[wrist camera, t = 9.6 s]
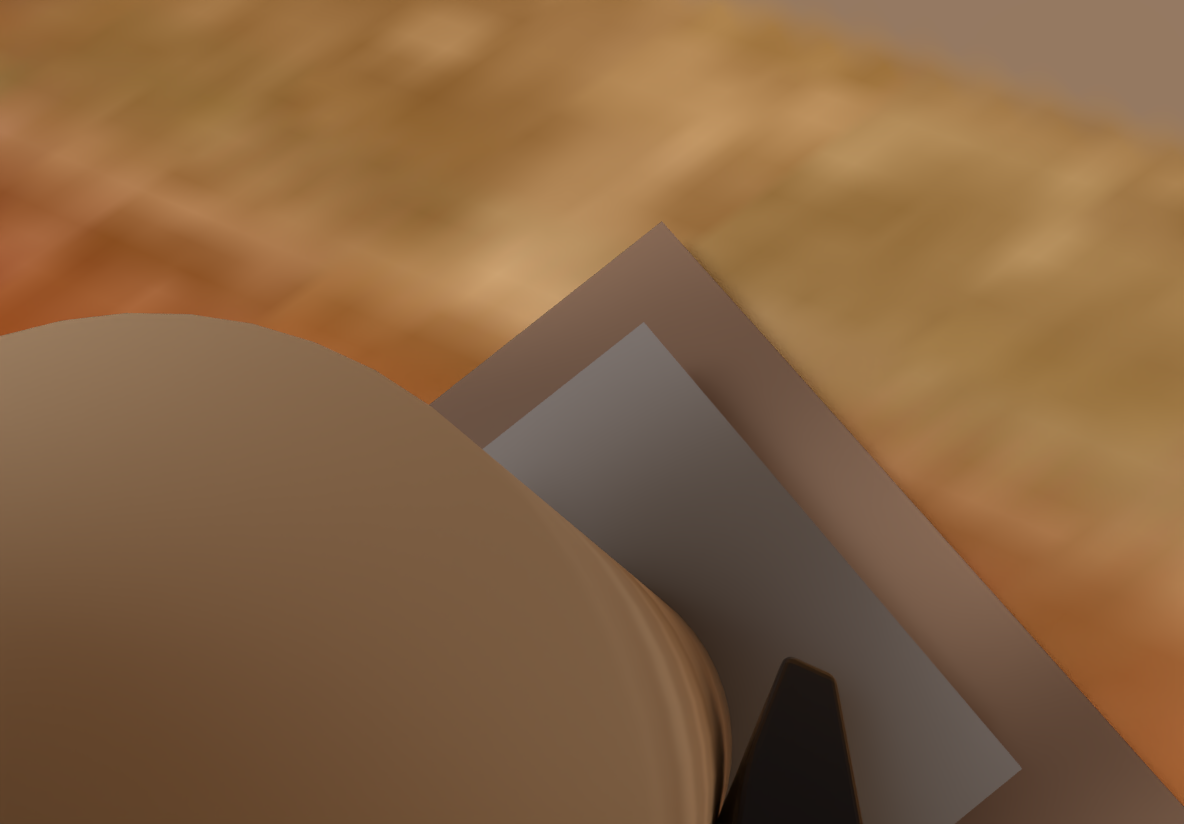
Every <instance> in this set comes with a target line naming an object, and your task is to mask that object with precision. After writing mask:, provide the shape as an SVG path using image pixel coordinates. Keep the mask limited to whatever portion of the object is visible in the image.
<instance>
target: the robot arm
mask: <svg viewBox="0 0 1184 824" xmlns="http://www.w3.org/2000/svg"><path fill="white" fill-rule="evenodd" d="M716 824H863V820H862V814H861V809H860V803H859V798H858V793H857V787H856V782H855V777H854V771H853V766H852V760H851V755H850V750H849V744H848V739H847V733H846V728H845V723H844V717H843V712H842V706H841V701H840V696H839V690H838V686H837V682H836V680H835V678H834V677H833V675H832V674H830V673H829V672H826V671H824V670H822V669H820V668H817V667H815V666H813V665H811V664H809V663H806V662H804V661H802V660H800V659H797V658H795V657H787V658H785V659H784V660H783V661H782V663H781V665H780V668H779V670H778V673H777V675H776V677H775V680H774V682H773V685H772V687H771V689H770V692H769V694H768V697H767V699H766V701H765V704H764V706H763V709H762V711H761V713H760V716H759V718H758V720H757V723H756V725H755V728H754V730H753V733H752V735H751V737H750V740H749V742H748V745H747V747H746V750H745V752H744V755H743V757H742V760H741V762H740V765H739V767H738V770H737V772H736V775H735V777H734V779H733V782H732V784H731V787H730V789H729V792H728V794H727V797H726V799H725V802H724V804H723V807H722V809H721V812H720V814H719V817H718V819H717V822H716Z"/></svg>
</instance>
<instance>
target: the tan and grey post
mask: <svg viewBox="0 0 1184 824" xmlns="http://www.w3.org/2000/svg"><path fill="white" fill-rule="evenodd" d="M787 657H795V658H797V659H800V660H802V661H804V662H806V663H809V664H811V665H813V666H815V667H817V668H820V669H822V670H824V671H826V672H829V673H830V674H832V675H833V677H834V678H835V680H836V682H837V686H838V690H839V696H840V701H841V706H842V712H843V717H844V723H845V728H846V733H847V739H848V744H849V750H850V755H851V760H852V766H853V771H854V777H855V782H856V787H857V793H858V798H859V803H860V809H861V814H862V820H863V824H955V823H956V822H957V821H959V820H960V819H961V818H962V817H964V816H965V815H966V814H967V813H968V812H970V811H971V810H972V809H973V808H975V807H976V806H977V805H978V804H980V803H981V802H982V801H983V800H984V799H986V798H987V797H988V796H989V795H991V794H992V793H993V792H994V791H995V790H997V789H998V788H999V787H1000V786H1002V785H1003V784H1004V783H1005V782H1006V781H1008V780H1009V779H1010V778H1011V777H1013V776H1014V775H1015V774H1016V773H1017V772H1019V771H1020V770H1021V769H1022V768H1021V767H1020V765H1019V764H1018V763H1017V762H1016V761H1015V759H1014V758H1013V757H1012V756H1011V755H1010V754H1009V752H1008V751H1007V750H1006V749H1005V748H1004V746H1003V745H1002V744H1001V743H1000V742H999V741H998V739H997V738H996V737H995V736H994V735H993V733H992V732H991V731H990V730H989V729H988V728H987V726H986V725H985V724H984V723H983V722H982V721H981V719H980V718H979V717H978V716H977V715H976V713H975V712H974V711H973V710H972V709H971V708H970V706H969V705H968V704H967V703H966V702H965V700H964V699H963V698H962V697H961V696H960V695H959V693H958V692H957V691H956V690H955V689H954V687H953V686H952V685H951V684H950V683H949V682H948V680H947V679H946V678H945V677H944V676H943V674H942V673H941V672H940V671H939V670H938V669H937V667H936V666H935V665H934V664H933V663H932V662H931V660H930V659H929V658H928V657H927V656H926V654H925V653H924V652H923V651H922V650H921V649H920V647H919V646H918V645H917V644H916V643H915V641H914V640H913V639H912V638H911V637H910V636H909V634H908V633H907V632H906V631H905V630H904V628H903V627H902V626H901V625H900V624H899V623H898V621H897V620H896V619H895V618H894V617H893V616H892V614H891V613H890V612H889V611H888V610H887V608H886V607H885V606H884V605H883V604H882V603H881V601H880V600H879V599H878V598H877V597H876V595H875V594H874V593H873V592H872V591H871V590H870V588H869V587H868V586H867V585H866V584H865V582H864V581H863V580H862V579H861V578H860V577H859V575H858V574H857V573H856V572H855V571H854V569H853V568H852V567H851V566H850V565H849V564H848V562H847V561H846V560H845V559H844V558H843V557H842V555H841V554H840V553H839V552H838V551H837V549H836V548H835V547H834V546H833V545H832V544H831V542H830V541H829V540H828V539H827V538H826V536H825V535H824V534H823V533H822V532H821V531H820V529H819V528H818V527H817V526H816V525H815V523H814V522H813V521H812V520H811V519H810V518H809V516H808V515H807V514H806V513H805V512H804V511H803V509H802V508H801V507H800V506H799V505H798V503H797V502H796V501H795V500H794V499H793V498H792V496H791V495H790V494H789V493H788V492H787V490H786V489H785V488H784V487H783V486H782V485H781V483H780V482H779V481H778V480H777V479H776V477H775V476H774V475H773V474H772V473H771V472H770V470H769V469H768V468H767V467H766V466H765V464H764V463H763V462H762V461H761V460H760V459H759V457H758V456H757V455H756V454H755V453H754V452H753V450H752V449H751V448H750V447H749V446H748V444H747V443H746V442H745V441H744V440H743V439H742V437H741V436H740V435H739V434H738V433H737V431H736V430H735V429H734V428H733V427H732V426H731V424H730V423H729V422H728V421H727V420H726V418H725V417H724V416H723V415H722V414H721V413H720V411H719V410H718V409H717V408H716V407H715V405H714V404H713V403H712V402H711V401H710V400H709V398H708V397H707V396H706V395H705V394H704V393H703V391H702V390H701V389H700V388H699V387H698V385H697V384H696V383H695V382H694V381H693V380H692V378H691V377H690V376H689V375H688V374H687V372H686V371H685V370H684V369H683V368H682V367H681V365H680V364H679V363H678V362H677V361H676V359H675V358H674V357H673V356H672V355H671V354H670V352H669V351H668V350H667V349H666V348H665V347H664V345H663V344H662V343H661V342H660V341H659V339H658V338H657V337H656V336H655V335H654V334H653V332H652V331H651V330H650V329H649V328H648V326H647V325H646V324H645V323H644V322H643V323H642V324H641V325H639V326H638V327H637V328H635V329H634V330H633V331H632V332H630V333H629V334H628V335H627V336H625V337H624V338H623V339H622V340H620V341H619V342H618V343H616V344H615V345H614V346H613V347H611V348H610V349H609V350H608V351H606V352H605V353H604V354H603V355H601V356H600V357H599V358H597V359H596V360H595V361H594V362H592V363H591V364H590V365H589V366H587V367H586V368H585V369H583V370H582V371H581V372H580V373H578V374H577V375H576V376H575V377H573V378H572V379H571V380H570V381H568V382H567V383H566V384H564V385H563V386H562V387H561V388H559V389H558V390H557V391H556V392H554V393H553V394H552V395H551V396H549V397H548V398H547V399H545V400H544V401H543V402H542V403H540V404H539V405H538V406H537V407H535V408H534V409H533V410H531V411H530V412H529V413H528V414H526V415H525V416H524V417H523V418H521V419H520V420H519V421H518V422H516V423H515V424H514V425H512V426H511V427H510V428H509V429H507V430H506V431H505V432H504V433H502V434H501V435H500V436H499V437H497V438H496V439H495V440H493V441H492V442H491V443H490V444H488V445H487V446H486V447H485V448H483V449H481V448H480V447H479V446H478V445H477V444H475V443H474V442H473V441H472V440H471V439H470V438H468V437H467V436H466V435H465V434H464V433H462V432H461V431H460V430H459V429H458V428H456V427H455V426H454V425H453V424H452V423H450V422H449V421H448V420H447V419H446V418H444V417H443V416H442V415H441V414H440V413H439V412H437V411H436V410H435V409H434V408H433V407H431V406H430V405H428V404H427V403H425V402H423V401H422V400H420V399H419V398H417V397H416V396H414V395H413V394H411V393H410V392H408V391H406V390H405V389H403V388H402V387H400V386H399V385H397V384H396V383H394V382H392V381H391V380H389V379H388V378H386V377H385V376H383V375H382V374H380V373H379V372H377V371H375V370H373V369H371V368H369V367H367V366H365V365H363V364H360V363H358V362H356V361H354V360H352V359H350V358H347V357H345V356H343V355H341V354H339V353H337V352H334V351H332V350H330V349H328V348H326V347H324V346H321V345H319V344H317V343H315V342H312V341H308V340H305V339H302V338H298V337H295V336H292V335H288V334H285V333H282V332H278V331H275V330H272V329H268V328H265V327H262V326H258V325H255V324H250V323H244V322H237V321H231V320H224V319H218V318H211V317H205V316H198V315H191V314H144V313H123V314H115V315H106V316H98V317H89V318H81V319H72V320H64V321H59V322H55V323H51V324H47V325H43V326H39V327H35V328H31V329H27V330H23V331H19V332H15V333H11V334H7V335H3V336H0V824H716V822H717V819H718V817H719V814H720V812H721V809H722V807H723V804H724V802H725V799H726V797H727V794H728V792H729V789H730V787H731V784H732V782H733V779H734V777H735V775H736V772H737V770H738V767H739V765H740V762H741V760H742V757H743V755H744V752H745V750H746V747H747V745H748V742H749V740H750V737H751V735H752V733H753V730H754V728H755V725H756V723H757V720H758V718H759V716H760V713H761V711H762V709H763V706H764V704H765V701H766V699H767V697H768V694H769V692H770V689H771V687H772V685H773V682H774V680H775V677H776V675H777V673H778V670H779V668H780V665H781V663H782V661H783V660H784V659H785V658H787Z"/></svg>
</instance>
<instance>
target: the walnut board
mask: <svg viewBox="0 0 1184 824" xmlns="http://www.w3.org/2000/svg"><path fill="white" fill-rule="evenodd" d="M643 322H644V323H645V324H646V325H647V326H648V328H649V329H650V330H651V331H652V332H653V334H654V335H655V336H656V337H657V338H658V339H659V341H660V342H661V343H662V344H663V345H664V347H665V348H666V349H667V350H668V351H669V352H670V354H671V355H672V356H673V357H674V358H675V359H676V361H677V362H678V363H679V364H680V365H681V367H682V368H683V369H684V370H685V371H686V372H687V374H688V375H689V376H690V377H691V378H692V380H693V381H694V382H695V383H696V384H697V385H698V387H699V388H700V389H701V390H702V391H703V393H704V394H705V395H706V396H707V397H708V398H709V400H710V401H711V402H712V403H713V404H714V405H715V407H716V408H717V409H718V410H719V411H720V413H721V414H722V415H723V416H724V417H725V418H726V420H727V421H728V422H729V423H730V424H731V426H732V427H733V428H734V429H735V430H736V431H737V433H738V434H739V435H740V436H741V437H742V439H743V440H744V441H745V442H746V443H747V444H748V446H749V447H750V448H751V449H752V450H753V452H754V453H755V454H756V455H757V456H758V457H759V459H760V460H761V461H762V462H763V463H764V464H765V466H766V467H767V468H768V469H769V470H770V472H771V473H772V474H773V475H774V476H775V477H776V479H777V480H778V481H779V482H780V483H781V485H782V486H783V487H784V488H785V489H786V490H787V492H788V493H789V494H790V495H791V496H792V498H793V499H794V500H795V501H796V502H797V503H798V505H799V506H800V507H801V508H802V509H803V511H804V512H805V513H806V514H807V515H808V516H809V518H810V519H811V520H812V521H813V522H814V523H815V525H816V526H817V527H818V528H819V529H820V531H821V532H822V533H823V534H824V535H825V536H826V538H827V539H828V540H829V541H830V542H831V544H832V545H833V546H834V547H835V548H836V549H837V551H838V552H839V553H840V554H841V555H842V557H843V558H844V559H845V560H846V561H847V562H848V564H849V565H850V566H851V567H852V568H853V569H854V571H855V572H856V573H857V574H858V575H859V577H860V578H861V579H862V580H863V581H864V582H865V584H866V585H867V586H868V587H869V588H870V590H871V591H872V592H873V593H874V594H875V595H876V597H877V598H878V599H879V600H880V601H881V603H882V604H883V605H884V606H885V607H886V608H887V610H888V611H889V612H890V613H891V614H892V616H893V617H894V618H895V619H896V620H897V621H898V623H899V624H900V625H901V626H902V627H903V628H904V630H905V631H906V632H907V633H908V634H909V636H910V637H911V638H912V639H913V640H914V641H915V643H916V644H917V645H918V646H919V647H920V649H921V650H922V651H923V652H924V653H925V654H926V656H927V657H928V658H929V659H930V660H931V662H932V663H933V664H934V665H935V666H936V667H937V669H938V670H939V671H940V672H941V673H942V674H943V676H944V677H945V678H946V679H947V680H948V682H949V683H950V684H951V685H952V686H953V687H954V689H955V690H956V691H957V692H958V693H959V695H960V696H961V697H962V698H963V699H964V700H965V702H966V703H967V704H968V705H969V706H970V708H971V709H972V710H973V711H974V712H975V713H976V715H977V716H978V717H979V718H980V719H981V721H982V722H983V723H984V724H985V725H986V726H987V728H988V729H989V730H990V731H991V732H992V733H993V735H994V736H995V737H996V738H997V739H998V741H999V742H1000V743H1001V744H1002V745H1003V746H1004V748H1005V749H1006V750H1007V751H1008V752H1009V754H1010V755H1011V756H1012V757H1013V758H1014V759H1015V761H1016V762H1017V763H1018V764H1019V765H1020V767H1021V768H1022V769H1021V770H1020V771H1019V772H1017V773H1016V774H1015V775H1014V776H1013V777H1011V778H1010V779H1009V780H1008V781H1006V782H1005V783H1004V784H1003V785H1002V786H1000V787H999V788H998V789H997V790H995V791H994V792H993V793H992V794H991V795H989V796H988V797H987V798H986V799H984V800H983V801H982V802H981V803H980V804H978V805H977V806H976V807H975V808H973V809H972V810H971V811H970V812H968V813H967V814H966V815H965V816H964V817H962V818H961V819H960V820H959V821H957V822H956V823H955V824H1184V807H1183V806H1182V804H1181V803H1180V802H1179V801H1178V800H1177V799H1176V798H1175V797H1174V795H1173V794H1172V793H1171V792H1170V791H1169V790H1168V789H1167V788H1166V787H1165V785H1164V784H1163V783H1162V782H1161V781H1160V780H1159V779H1158V778H1157V776H1156V775H1155V774H1154V773H1153V772H1152V771H1151V770H1150V769H1149V767H1148V766H1147V765H1146V764H1145V763H1144V762H1143V761H1142V760H1141V758H1140V757H1139V756H1138V755H1137V754H1136V753H1135V752H1134V751H1133V749H1132V748H1131V747H1130V746H1129V745H1128V744H1127V743H1126V742H1125V741H1124V739H1123V738H1122V737H1121V736H1120V735H1119V734H1118V733H1117V732H1116V730H1115V729H1114V728H1113V727H1112V726H1111V725H1110V724H1109V723H1108V721H1107V720H1106V719H1105V718H1104V717H1103V716H1102V715H1101V714H1100V712H1099V711H1098V710H1097V709H1096V708H1095V707H1094V706H1093V705H1092V703H1091V702H1090V701H1089V700H1088V699H1087V698H1086V697H1085V696H1084V695H1083V693H1082V692H1081V691H1080V690H1079V689H1078V688H1077V687H1076V686H1075V684H1074V683H1073V682H1072V681H1071V680H1070V679H1069V678H1068V677H1067V675H1066V674H1065V673H1064V672H1063V671H1062V670H1061V669H1060V668H1059V666H1058V665H1057V664H1056V663H1055V662H1054V661H1053V660H1052V659H1051V657H1050V656H1049V655H1048V654H1047V653H1046V652H1045V651H1044V650H1043V649H1042V647H1041V646H1040V645H1039V644H1038V643H1037V642H1036V641H1035V640H1034V638H1033V637H1032V636H1031V635H1030V634H1029V633H1028V632H1027V631H1026V629H1025V628H1024V627H1023V626H1022V625H1021V624H1020V623H1019V622H1018V620H1017V619H1016V618H1015V617H1014V616H1013V615H1012V614H1011V613H1010V611H1009V610H1008V609H1007V608H1006V607H1005V606H1004V605H1003V604H1002V603H1001V601H1000V600H999V599H998V598H997V597H996V596H995V595H994V594H993V592H992V591H991V590H990V589H989V588H988V587H987V586H986V585H985V583H984V582H983V581H982V580H981V579H980V578H979V577H978V576H977V574H976V573H975V572H974V571H973V570H972V569H971V568H970V567H969V566H968V564H967V563H966V562H965V561H964V560H963V559H962V558H961V557H960V555H959V554H958V553H957V552H956V551H955V550H954V549H953V548H952V546H951V545H950V544H949V543H948V542H947V541H946V540H945V539H944V537H943V536H942V535H941V534H940V533H939V532H938V531H937V530H936V528H935V527H934V526H933V525H932V524H931V523H930V522H929V521H928V520H927V518H926V517H925V516H924V515H923V514H922V513H921V512H920V511H919V509H918V508H917V507H916V506H915V505H914V504H913V503H912V502H911V500H910V499H909V498H908V497H907V496H906V495H905V494H904V493H903V491H902V490H901V489H900V488H899V487H898V486H897V485H896V484H895V482H894V481H893V480H892V479H891V478H890V477H889V476H888V475H887V474H886V472H885V471H884V470H883V469H882V468H881V467H880V466H879V465H878V463H877V462H876V461H875V460H874V459H873V458H872V457H871V456H870V454H869V453H868V452H867V451H866V450H865V449H864V448H863V447H862V445H861V444H860V443H859V442H858V441H857V440H856V439H855V438H854V436H853V435H852V434H851V433H850V432H849V431H848V430H847V429H846V428H845V426H844V425H843V424H842V423H841V422H840V421H839V420H838V419H837V417H836V416H835V415H834V414H833V413H832V412H831V411H830V410H829V408H828V407H827V406H826V405H825V404H824V403H823V402H822V401H821V399H820V398H819V397H818V396H817V395H816V394H815V393H814V392H813V390H812V389H811V388H810V387H809V386H808V385H807V384H806V383H805V382H804V380H803V379H802V378H801V377H800V376H799V375H798V374H797V373H796V371H795V370H794V369H793V368H792V367H791V366H790V365H789V364H788V362H787V361H786V360H785V359H784V358H783V357H782V356H781V355H780V353H779V352H778V351H777V350H776V349H775V348H774V347H773V346H772V344H771V343H770V342H769V341H768V340H767V339H766V338H765V337H764V336H763V334H762V333H761V332H760V331H759V330H758V329H757V328H756V327H755V325H754V324H753V323H752V322H751V321H750V320H749V319H748V318H747V316H746V315H745V314H744V313H743V312H742V311H741V310H740V309H739V307H738V306H737V305H736V304H735V303H734V302H733V301H732V300H731V298H730V297H729V296H728V295H727V294H726V293H725V292H724V291H723V290H722V288H721V287H720V286H719V285H718V284H717V283H716V282H715V281H714V279H713V278H712V277H711V276H710V275H709V274H708V273H707V272H706V270H705V269H704V268H703V267H702V266H701V265H700V264H699V263H698V261H697V260H696V259H695V258H694V257H693V256H692V255H691V254H690V252H689V251H688V250H687V249H686V248H685V247H684V246H683V245H682V244H681V242H680V241H679V240H678V239H677V238H676V237H675V236H674V235H673V233H672V232H671V231H670V230H669V229H668V228H667V227H666V226H665V224H664V223H663V222H660V223H659V224H658V225H657V226H655V227H654V228H653V229H651V230H650V231H649V232H648V233H646V234H645V235H644V236H643V237H641V238H640V239H639V240H638V241H636V242H635V243H634V244H632V245H631V246H630V247H629V248H627V249H626V250H625V251H624V252H622V253H621V254H620V255H619V256H617V257H616V258H615V259H613V260H612V261H611V262H610V263H608V264H607V265H606V266H605V267H603V268H602V269H601V270H600V271H598V272H597V273H596V274H594V275H593V276H592V277H591V278H589V279H588V280H587V281H586V282H584V283H583V284H582V285H581V286H579V287H578V288H577V289H575V290H574V291H573V292H572V293H570V294H569V295H568V296H567V297H565V298H564V299H563V300H561V301H560V302H559V303H558V304H556V305H555V306H554V307H553V308H551V309H550V310H549V311H548V312H546V313H545V314H544V315H542V316H541V317H540V318H539V319H537V320H536V321H535V322H534V323H532V324H531V325H530V326H529V327H527V328H526V329H525V330H523V331H522V332H521V333H520V334H518V335H517V336H516V337H515V338H513V339H512V340H511V341H510V342H508V343H507V344H506V345H504V346H503V347H502V348H501V349H499V350H498V351H497V352H496V353H494V354H493V355H492V356H491V357H489V358H488V359H487V360H485V361H484V362H483V363H482V364H480V365H479V366H478V367H477V368H475V369H474V370H473V371H472V372H470V373H469V374H468V375H466V376H465V377H464V378H463V379H461V380H460V381H459V382H458V383H456V384H455V385H454V386H452V387H451V388H450V389H449V390H447V391H446V392H445V393H444V394H442V395H441V396H440V397H439V398H437V399H436V400H435V401H433V402H432V403H431V404H430V406H431V407H433V408H434V409H435V410H436V411H437V412H439V413H440V414H441V415H442V416H443V417H444V418H446V419H447V420H448V421H449V422H450V423H452V424H453V425H454V426H455V427H456V428H458V429H459V430H460V431H461V432H462V433H464V434H465V435H466V436H467V437H468V438H470V439H471V440H472V441H473V442H474V443H475V444H477V445H478V446H479V447H480V448H481V449H483V448H485V447H486V446H487V445H488V444H490V443H491V442H492V441H493V440H495V439H496V438H497V437H499V436H500V435H501V434H502V433H504V432H505V431H506V430H507V429H509V428H510V427H511V426H512V425H514V424H515V423H516V422H518V421H519V420H520V419H521V418H523V417H524V416H525V415H526V414H528V413H529V412H530V411H531V410H533V409H534V408H535V407H537V406H538V405H539V404H540V403H542V402H543V401H544V400H545V399H547V398H548V397H549V396H551V395H552V394H553V393H554V392H556V391H557V390H558V389H559V388H561V387H562V386H563V385H564V384H566V383H567V382H568V381H570V380H571V379H572V378H573V377H575V376H576V375H577V374H578V373H580V372H581V371H582V370H583V369H585V368H586V367H587V366H589V365H590V364H591V363H592V362H594V361H595V360H596V359H597V358H599V357H600V356H601V355H603V354H604V353H605V352H606V351H608V350H609V349H610V348H611V347H613V346H614V345H615V344H616V343H618V342H619V341H620V340H622V339H623V338H624V337H625V336H627V335H628V334H629V333H630V332H632V331H633V330H634V329H635V328H637V327H638V326H639V325H641V324H642V323H643Z"/></svg>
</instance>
